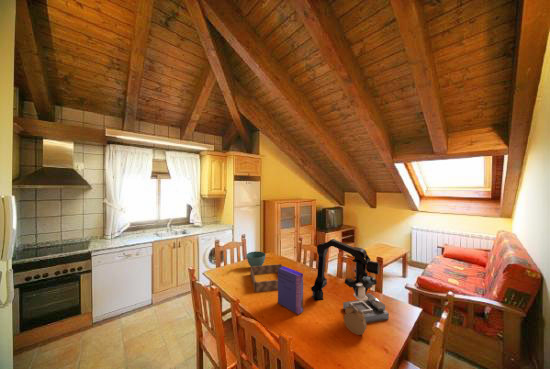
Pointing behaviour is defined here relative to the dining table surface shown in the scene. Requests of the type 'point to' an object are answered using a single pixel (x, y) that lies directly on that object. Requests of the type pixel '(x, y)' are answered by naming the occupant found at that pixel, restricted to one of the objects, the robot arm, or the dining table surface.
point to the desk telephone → (369, 308)
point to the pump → (361, 293)
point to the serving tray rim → (264, 284)
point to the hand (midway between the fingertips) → (360, 295)
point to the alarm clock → (355, 320)
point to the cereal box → (290, 289)
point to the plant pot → (256, 258)
